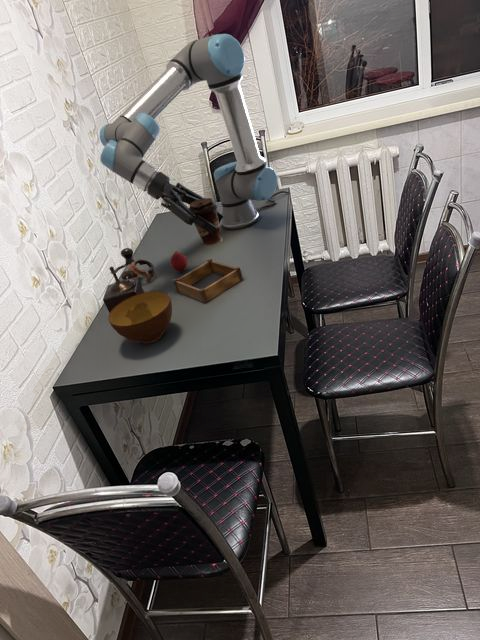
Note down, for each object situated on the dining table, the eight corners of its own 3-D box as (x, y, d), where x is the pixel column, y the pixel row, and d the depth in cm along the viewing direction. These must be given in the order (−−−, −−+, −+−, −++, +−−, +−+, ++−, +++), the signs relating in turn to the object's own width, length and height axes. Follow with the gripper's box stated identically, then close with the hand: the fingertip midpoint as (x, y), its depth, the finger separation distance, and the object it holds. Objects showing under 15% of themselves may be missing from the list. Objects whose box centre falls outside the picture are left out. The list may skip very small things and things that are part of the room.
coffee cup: (209, 250, 143) (196, 209, 135) (194, 245, 148) (181, 206, 141) (231, 238, 146) (219, 197, 139) (215, 233, 152) (203, 194, 144)
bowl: (170, 353, 126) (157, 322, 120) (112, 358, 130) (97, 328, 125) (189, 317, 139) (178, 288, 134) (136, 322, 144) (123, 294, 138)
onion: (187, 274, 164) (179, 254, 160) (172, 276, 166) (164, 256, 161) (192, 267, 169) (185, 246, 164) (177, 268, 170) (170, 248, 166)
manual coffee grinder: (148, 316, 145) (126, 264, 135) (114, 325, 146) (89, 274, 135) (152, 293, 158) (132, 244, 148) (120, 301, 158) (98, 253, 148)
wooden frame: (213, 270, 162) (210, 258, 160) (243, 279, 152) (239, 267, 149) (176, 291, 155) (172, 280, 153) (205, 303, 144) (201, 291, 142)
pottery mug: (141, 273, 175) (144, 255, 170) (157, 288, 172) (161, 269, 166) (114, 281, 167) (116, 262, 161) (130, 297, 163) (133, 277, 158)
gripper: (159, 180, 149) (220, 220, 154) (134, 205, 133) (203, 249, 138) (168, 160, 144) (231, 202, 149) (144, 183, 128) (215, 229, 133)
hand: (218, 225), depth 144 cm, fingers closed on coffee cup, 8 cm apart
